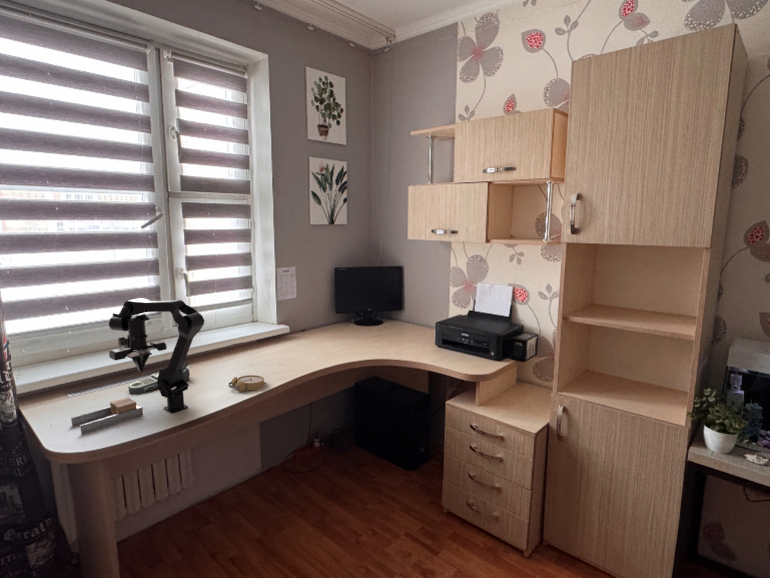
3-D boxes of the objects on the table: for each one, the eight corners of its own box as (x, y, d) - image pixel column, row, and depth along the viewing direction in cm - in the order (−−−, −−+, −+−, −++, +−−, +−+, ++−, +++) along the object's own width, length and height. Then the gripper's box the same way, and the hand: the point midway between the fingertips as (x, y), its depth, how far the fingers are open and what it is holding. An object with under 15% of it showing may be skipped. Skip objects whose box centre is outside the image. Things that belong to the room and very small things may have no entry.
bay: (143, 415, 166) (142, 407, 166) (82, 434, 151) (81, 425, 151) (131, 407, 173) (130, 400, 172) (71, 425, 158) (71, 417, 157)
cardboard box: (137, 415, 166) (136, 402, 165) (119, 420, 161) (117, 407, 161) (129, 409, 171) (128, 397, 170) (111, 415, 166) (109, 402, 165)
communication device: (123, 390, 191) (121, 370, 190) (179, 375, 209) (178, 356, 207) (134, 397, 183) (132, 377, 182) (192, 381, 201) (190, 362, 200)
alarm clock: (269, 381, 194) (234, 382, 184) (267, 392, 194) (233, 394, 184) (258, 373, 202) (225, 375, 193) (257, 384, 202) (223, 386, 193)
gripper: (152, 324, 184) (155, 361, 186) (101, 333, 170) (105, 373, 172) (165, 328, 177) (168, 367, 179) (113, 338, 163) (117, 380, 165)
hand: (140, 371), depth 174 cm, fingers closed
